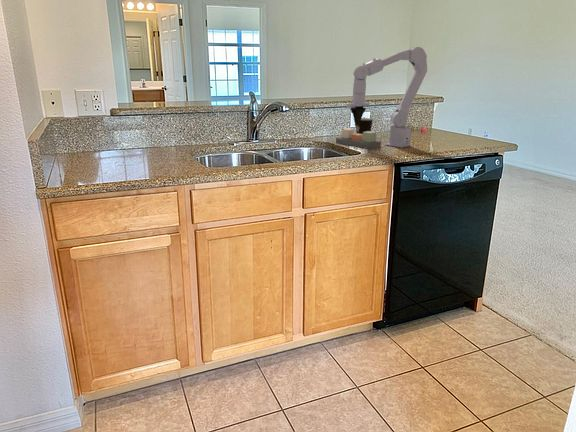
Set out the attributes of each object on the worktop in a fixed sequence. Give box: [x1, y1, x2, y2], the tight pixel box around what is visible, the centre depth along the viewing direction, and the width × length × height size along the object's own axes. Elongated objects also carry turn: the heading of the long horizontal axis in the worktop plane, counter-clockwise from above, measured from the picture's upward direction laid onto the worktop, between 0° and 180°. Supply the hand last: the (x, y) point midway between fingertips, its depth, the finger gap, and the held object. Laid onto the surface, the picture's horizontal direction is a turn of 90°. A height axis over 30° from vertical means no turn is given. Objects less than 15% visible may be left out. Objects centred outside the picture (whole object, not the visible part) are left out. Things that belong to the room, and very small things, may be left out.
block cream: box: [340, 127, 356, 139], centre depth 214 cm, size 4×4×4 cm
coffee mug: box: [354, 117, 374, 134], centre depth 226 cm, size 12×9×10 cm
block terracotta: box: [351, 133, 363, 141], centre depth 210 cm, size 4×4×4 cm
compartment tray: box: [335, 136, 382, 150], centre depth 211 cm, size 20×9×2 cm, turn 42°
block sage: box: [362, 131, 377, 142], centre depth 205 cm, size 4×4×4 cm
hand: (357, 123), depth 208 cm, fingers closed
